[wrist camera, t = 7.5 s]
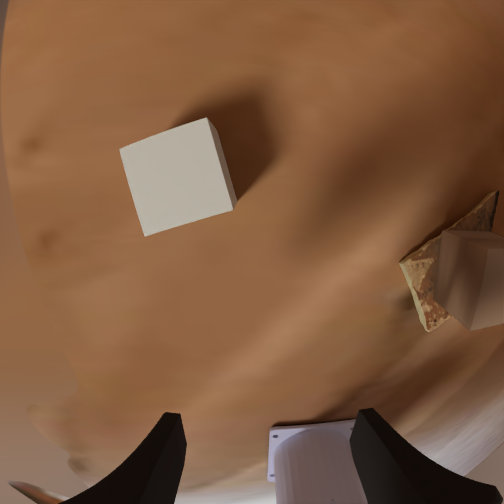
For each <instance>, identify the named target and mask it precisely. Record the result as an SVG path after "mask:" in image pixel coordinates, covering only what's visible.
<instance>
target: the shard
mask: <svg viewBox="0 0 504 504" xmlns="http://www.w3.org/2000/svg"><path fill="white" fill-rule="evenodd" d="M498 195H499V190H497V191H495V192H492V193H489V194H488V195H487V196H486V197H484V198H483V199H482V200H481V201H480V202H479V203H478V204H477V205H476V206H475V207H474V208H473V209H472V210H471V211H470V212H469V213H468V214H467V215H466V216H465V217H462V218H460V219H459V220H458V221H457V222H456V223H455V224H454V225H453V226H451V227H450V228H448V229H446V230H460V231H490V232H492V227H493V220H494V214H495V211H496V206H497V202H498ZM441 237H442V233H441V234H440V235H439V236H437V237H435V238H434V239H431V240H429V241H428V242H427V243H426V244H424V245H423V246H422V247H420V248H419V249H418V250H417V251H415V252H413V253H411V254H410V255H408V256H406V258H405V259H403V260H402V261H401V262H399V265H400V267H401V269H402V271H403V273H404V275H405V277H406V280H407V283H408V285H409V287H410V289H411V292H412V295H413V299H414V302H415V306H416V308H417V311H418V313H419V318H420V322H421V323H422V324H423V326H424V328H425V330H426V331H428V332H431V331H432V330H434V329H435V328H437V327H438V326H439V325H441V324H442V323H443V322H445V321H446V320H447V319H449V318H450V317H452V315H451V314H450V313H448V312H447V311H446V310H445V309H444V308H443V307H441V306H440V305H439V304H438V303H436V302H435V301H434V300H433V299H432V298H433V292H434V287H435V281H436V275H437V269H438V262H439V254H440V246H441Z"/></svg>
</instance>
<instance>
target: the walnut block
mask: <svg viewBox="0 0 504 504" xmlns="http://www.w3.org/2000/svg"><path fill="white" fill-rule="evenodd" d="M432 299H433V300H434V301H435V302H436V303H438V304H439V305H440V306H441V307H443V308H444V309H445V310H446V311H447V312H448V313H450V314H451V315H452V316H453V317H454V318H456V319H457V320H458V321H459V322H460V323H461V324H463V325H464V326H465V327H466V328H467V329H468V330H469V331H473V330H478V329H482V328H486V327H491V326H495V325H499V324H503V323H504V236H501V235H498V234H495V233H493V232H490V231H460V230H442V237H441V246H440V254H439V262H438V269H437V275H436V281H435V287H434V292H433V298H432Z"/></svg>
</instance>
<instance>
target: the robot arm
mask: <svg viewBox="0 0 504 504" xmlns="http://www.w3.org/2000/svg"><path fill="white" fill-rule="evenodd" d="M352 427H353V428H352ZM186 446H187V443H186V438H185V434H184V429H183V424H182V419H181V414H178V413H169V412H165V413H164V414H163V415H162V417H161V418H160V420H159V421H158V422H157V424H156V425H155V426H154V428H153V429H152V430H151V432H150V433H149V434H148V436H147V437H146V438H145V439H144V440H143V441H142V443H141V444H140V445H139V446H138V447H137V448H136V450H135V451H134V452H133V453H132V454H131V455H130V456H129V457H128V458H127V459H126V460H125V461H124V462H123V463H122V464H121V465H120V466H118V467H117V468H116V469H115V470H114V471H113V472H111V473H110V474H109V475H108V476H106V477H105V478H104V479H102V480H101V481H99V482H98V483H97V484H95V485H94V486H92V487H91V488H89V489H87V490H85V491H84V492H82V493H80V494H78V495H76V496H74V497H73V498H70V499H68V500H66V501H63V502H61V503H58V504H174V502H175V498H176V494H177V490H178V486H179V483H180V479H181V475H182V471H183V467H184V462H185V455H186ZM267 480H268V481H269V482H275V487H276V501H277V504H501V503H502V501H503V498H502V496H501V495H500V493H499V491H498V489H497V488H496V487H495V486H493V485H489V484H485V483H481V482H477V481H474V480H471V479H469V478H466V477H463V476H461V475H458V474H456V473H454V472H452V471H450V470H448V469H446V468H444V467H442V466H441V465H439V464H437V463H436V462H434V461H432V460H431V459H429V458H428V457H426V456H425V455H423V454H422V453H421V452H419V451H418V450H417V449H416V448H414V447H413V446H412V445H411V444H410V443H408V442H407V441H406V440H405V439H404V438H403V437H402V436H401V435H400V434H398V433H397V432H396V431H395V430H394V429H393V428H392V427H391V426H390V425H389V424H388V423H387V422H386V421H385V420H384V419H383V418H382V417H381V416H380V415H379V414H378V413H377V412H376V411H375V410H374V409H373V408H368V409H362V410H359V412H358V415H357V418H356V419H352V420H345V421H338V422H329V423H320V424H309V425H296V426H279V427H272V428H271V429H270V435H269V455H268V473H267Z"/></svg>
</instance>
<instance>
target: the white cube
mask: <svg viewBox="0 0 504 504" xmlns="http://www.w3.org/2000/svg"><path fill="white" fill-rule="evenodd" d="M120 153H121V157H122V161H123V165H124V169H125V172H126V176H127V180H128V183H129V187H130V190H131V194H132V197H133V200H134V204H135V207H136V210H137V213H138V217H139V220H140V223H141V226H142V229H143V232H144V235H145V236H148V235H151V234H154V233H157V232H160V231H164V230H167V229H170V228H173V227H177V226H180V225H183V224H187V223H190V222H193V221H197V220H200V219H203V218H207V217H210V216H214V215H217V214H221V213H224V212H228V211H231V210H233V209H234V207H235V205H236V203H237V198H236V195H235V191H234V188H233V184H232V181H231V177H230V174H229V170H228V167H227V163H226V160H225V156H224V153H223V149H222V146H221V142H220V139H219V135H218V132H217V130H216V128H215V127H214V126H213V125H212V123H211V122H210V121H209V119H208V118H207V117H206V118H203V119H200V120H197V121H194V122H191V123H187V124H184V125H182V126H179V127H176V128H173V129H170V130H167V131H164V132H162V133H159V134H156V135H154V136H151V137H148V138H146V139H143V140H141V141H138V142H136V143H133V144H131V145H128V146H126V147H124V148H121V149H120Z"/></svg>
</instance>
